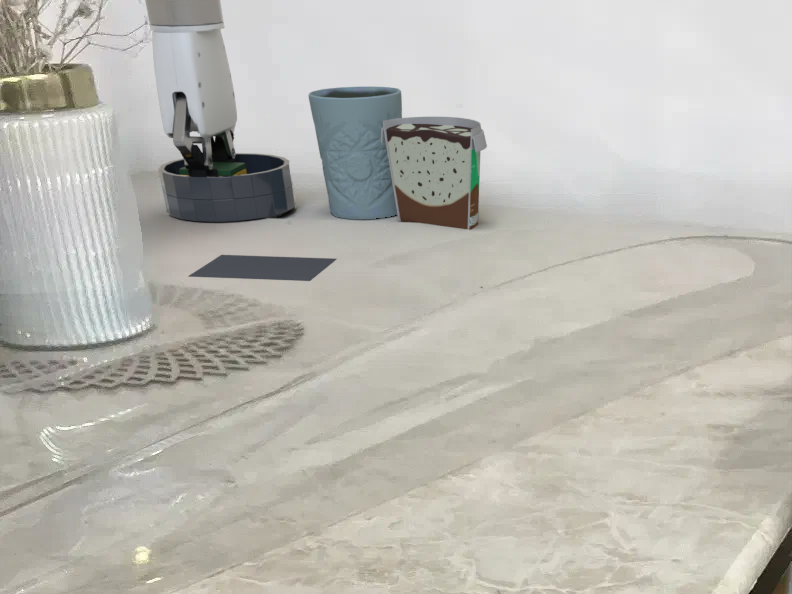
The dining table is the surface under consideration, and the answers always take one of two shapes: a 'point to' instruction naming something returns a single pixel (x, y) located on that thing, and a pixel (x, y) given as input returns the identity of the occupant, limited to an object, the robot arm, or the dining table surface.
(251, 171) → the bowl
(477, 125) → the food container
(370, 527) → the dining table surface
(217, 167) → the sponge
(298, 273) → the mat
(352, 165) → the blue embossed cup
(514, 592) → the dining table surface
